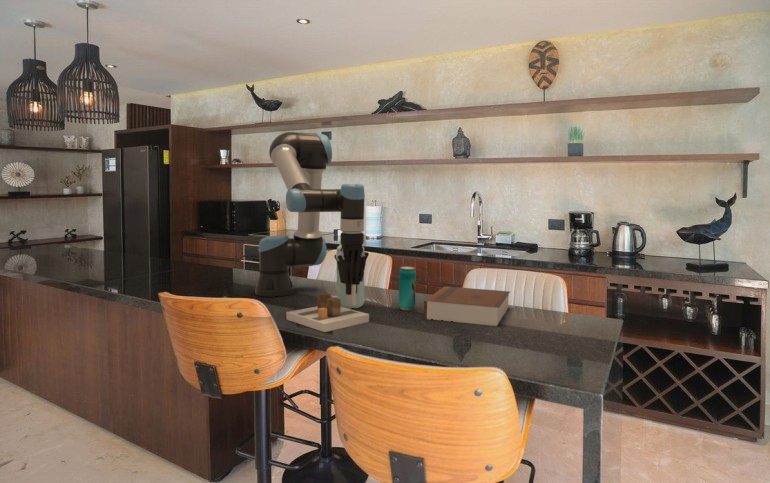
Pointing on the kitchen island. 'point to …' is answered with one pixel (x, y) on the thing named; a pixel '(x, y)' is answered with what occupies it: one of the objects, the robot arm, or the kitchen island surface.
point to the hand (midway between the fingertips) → (351, 303)
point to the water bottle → (342, 290)
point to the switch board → (327, 318)
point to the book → (467, 305)
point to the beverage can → (407, 288)
